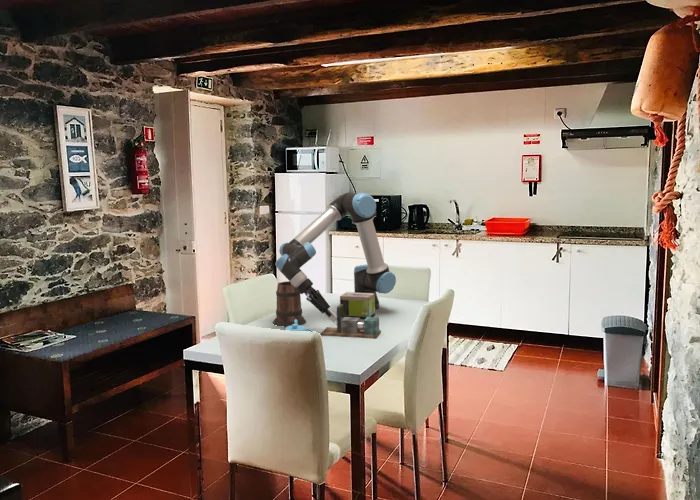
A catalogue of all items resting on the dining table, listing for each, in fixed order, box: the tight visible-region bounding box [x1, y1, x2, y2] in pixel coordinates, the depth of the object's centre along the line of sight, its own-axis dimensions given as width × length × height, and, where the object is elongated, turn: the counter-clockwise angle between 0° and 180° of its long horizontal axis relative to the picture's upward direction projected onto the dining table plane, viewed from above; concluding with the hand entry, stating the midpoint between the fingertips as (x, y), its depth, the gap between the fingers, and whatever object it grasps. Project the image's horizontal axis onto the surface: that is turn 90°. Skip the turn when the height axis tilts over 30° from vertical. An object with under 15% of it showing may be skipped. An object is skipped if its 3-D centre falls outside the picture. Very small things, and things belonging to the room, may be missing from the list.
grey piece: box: [336, 303, 364, 331], centre depth 270 cm, size 17×6×11 cm, turn 76°
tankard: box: [272, 280, 307, 328], centre depth 295 cm, size 24×17×20 cm
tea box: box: [339, 291, 376, 322], centre depth 287 cm, size 15×10×15 cm
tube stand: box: [320, 316, 382, 339], centre depth 271 cm, size 26×10×8 cm, turn 76°
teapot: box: [284, 319, 314, 333], centre depth 249 cm, size 15×14×11 cm
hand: (336, 320), depth 273 cm, fingers closed
